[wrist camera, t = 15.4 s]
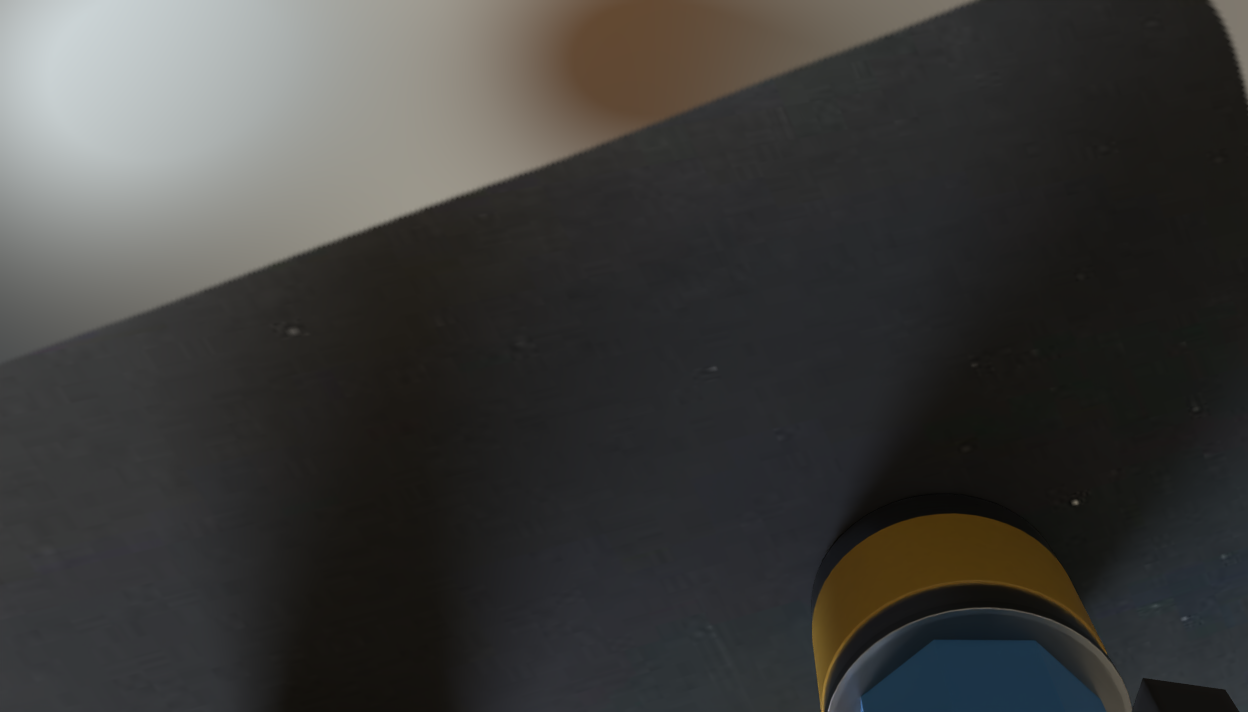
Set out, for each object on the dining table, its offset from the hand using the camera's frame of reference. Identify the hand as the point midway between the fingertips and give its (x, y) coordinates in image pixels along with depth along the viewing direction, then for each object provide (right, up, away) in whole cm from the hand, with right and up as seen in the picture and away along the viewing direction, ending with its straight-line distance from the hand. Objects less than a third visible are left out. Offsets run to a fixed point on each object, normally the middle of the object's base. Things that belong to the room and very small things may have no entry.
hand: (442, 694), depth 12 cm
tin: (+16, -8, +41) cm, 45 cm away
